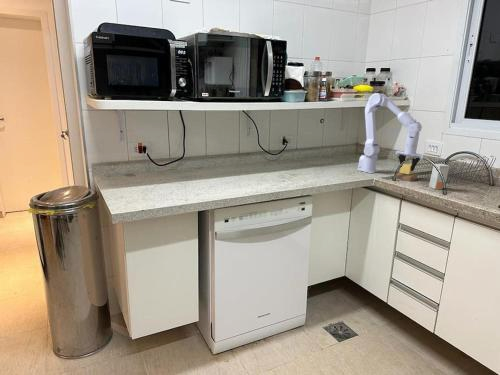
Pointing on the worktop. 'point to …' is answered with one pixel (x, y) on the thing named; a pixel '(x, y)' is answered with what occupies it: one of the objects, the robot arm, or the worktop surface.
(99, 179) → the worktop surface
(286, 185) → the worktop surface
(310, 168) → the worktop surface
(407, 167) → the block
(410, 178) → the trivet
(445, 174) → the skincare box
